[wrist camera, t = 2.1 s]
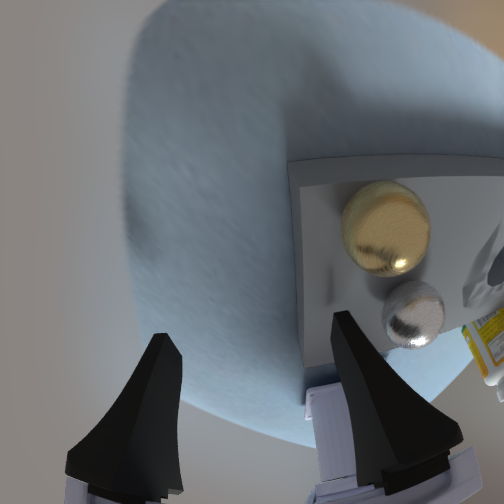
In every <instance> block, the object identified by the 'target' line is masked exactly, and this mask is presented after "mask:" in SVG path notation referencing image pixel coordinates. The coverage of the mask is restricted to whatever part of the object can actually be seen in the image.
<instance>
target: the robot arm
mask: <svg viewBox="0 0 504 504" xmlns="http://www.w3.org/2000/svg"><path fill="white" fill-rule="evenodd" d="M330 341H331V346H332V352H333V357H334V361H335V364H336V368H337V371H338V374H339V377H340V381H341V382H338V383H333V384H328V385H323V386H318V387H312V388H309V389H307V391H306V404H305V416H304V417H305V420H312V421H313V428H314V434H315V441H316V448H317V455H318V462H319V469H320V477H321V482H325V481H331V480H335V479H340V478H343V479H340V480H336V481H332V482H327V483H322V484H318V485H315V489H314V490H313V491H312V492H311V493H310V495H309V496H308V497H307V499H306V502H305V504H459V503H461V502H462V501H464V500H465V499H467V498H468V497H470V496H471V495H473V494H474V493H476V492H477V491H479V490H480V489H481V488H482V487H483V484H482V479H481V474H480V469H479V465H478V460H477V456H476V452H475V448H474V447H473V446H472V447H470V448H468V449H466V450H464V451H462V452H460V453H458V454H455V455H453V456H450V457H448V455H450V451H449V449H450V448H452V447H454V446H456V445H458V444H460V443H461V442H462V441H463V440H464V439H463V436H462V432H461V429H460V427H459V425H458V423H457V422H456V421H454V420H452V419H451V418H449V417H448V416H446V415H445V414H443V413H442V412H440V411H439V410H438V409H436V408H435V407H434V406H432V405H431V404H430V403H429V402H427V401H426V400H425V399H424V398H423V397H421V396H420V395H419V394H418V393H417V392H415V391H414V390H413V389H412V388H411V387H410V386H409V385H408V384H407V383H406V382H405V381H404V380H403V379H402V378H401V377H400V376H399V375H398V374H397V373H396V372H395V371H394V370H393V369H392V368H391V366H390V365H389V364H388V363H387V362H386V361H385V360H384V358H383V357H382V356H381V355H380V353H379V352H378V351H377V350H376V348H375V347H374V346H373V345H372V343H371V342H370V341H369V339H368V338H367V337H366V335H365V334H364V332H363V331H362V330H361V328H360V327H359V325H358V324H357V322H356V321H355V319H354V318H353V316H352V315H351V313H350V311H348V310H344V311H339V312H334V313H333V321H332V329H331V336H330ZM181 384H182V355H181V354H180V352H179V351H178V349H177V348H176V346H175V345H174V343H173V342H172V340H171V339H170V337H169V336H168V334H167V333H156V334H154V335H153V337H152V339H151V341H150V342H149V344H148V346H147V348H146V350H145V352H144V354H143V356H142V357H141V359H140V361H139V363H138V365H137V367H136V368H135V370H134V372H133V374H132V376H131V378H130V379H129V381H128V382H127V384H126V386H125V387H124V389H123V390H122V392H121V394H120V395H119V397H118V398H117V399H116V401H115V402H114V404H113V405H112V407H111V408H110V409H109V411H108V412H107V413H106V414H105V416H104V417H103V418H102V419H101V421H100V422H99V423H98V424H97V425H96V426H95V427H94V428H93V429H92V430H91V431H90V433H88V435H87V436H86V437H84V438H83V439H82V440H81V441H80V442H79V443H78V444H77V445H76V446H74V447H73V448H72V449H71V450H69V451H68V454H67V461H66V468H65V473H66V474H67V475H68V476H71V477H73V478H75V479H72V478H69V477H67V478H66V488H65V501H64V504H164V503H161V498H164V499H168V494H177V495H179V494H181V493H182V492H183V491H184V490H183V485H182V480H181V474H180V467H179V458H178V442H177V419H178V409H179V401H180V392H181ZM76 479H78V480H80V481H78V480H76ZM81 481H83V482H81ZM85 482H86V483H85Z"/></svg>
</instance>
